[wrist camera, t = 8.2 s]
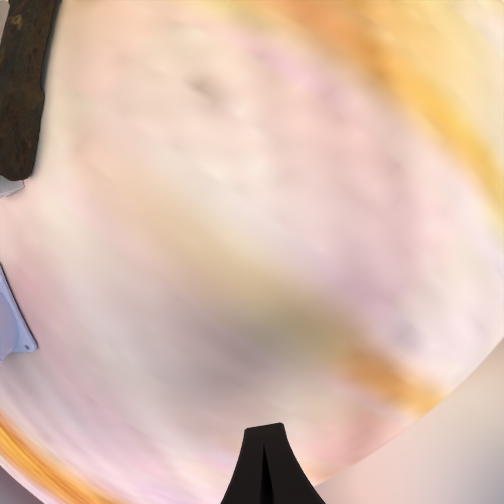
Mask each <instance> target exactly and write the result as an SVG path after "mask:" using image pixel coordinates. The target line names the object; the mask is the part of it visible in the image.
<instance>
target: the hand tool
mask: <svg viewBox="0 0 504 504" xmlns="http://www.w3.org/2000/svg"><path fill="white" fill-rule="evenodd" d="M55 2H56V0H8V3H9V5H10V7H9V10H8V15H7V18H6V22H5V26H4V30H3V34H2V38H1V43H0V175H1V176H3V177H4V178H6V179H8V180H9V181H20V180H24V179H27V178H28V177H29V176H30V173H31V170H32V168H33V163H34V158H35V152H36V146H37V142H38V133H39V125H40V118H41V113H42V108H43V103H44V98H45V94H44V91H43V90H42V89H41V88H40V74H41V65H42V59H43V56H44V51H45V46H46V41H47V38H48V34H49V32H50V25H51V17H52V13H53V9H54V5H55Z"/></svg>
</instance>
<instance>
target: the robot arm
mask: <svg viewBox="0 0 504 504" xmlns="http://www.w3.org/2000/svg"><path fill="white" fill-rule="evenodd" d="M36 350H37V345H36V343H35V341H34V339H33V337H32V336H31V334H30V332H29V330H28V328H27V326H26V324H25V322H24V320H23V318H22V316H21V314H20V311H19V309H18V307H17V305H16V303H15V301H14V298H13V296H12V294H11V291H10V289H9V287H8V284H7V282H6V279H5V277H4V274H3V271H2V269H1V266H0V363H1V362H2V361H3V360H4V359H5V358H6V357H7V355H8V354H9V353H24V352H35V351H36ZM221 504H325V502H324V501H323V500H322V498H321V497H320V496H319V494H318V493H317V492H316V490H315V489H314V487H313V486H312V484H311V483H310V481H309V480H308V478H307V477H306V475H305V474H304V472H303V470H302V468H301V467H300V465H299V463H298V461H297V459H296V458H295V456H294V454H293V451H292V449H291V447H290V445H289V442H288V439H287V436H286V432H285V428H284V424H283V423H275V424H269V425H263V426H257V427H251V428H247V429H245V431H244V438H243V442H242V447H241V451H240V454H239V458H238V461H237V464H236V467H235V470H234V473H233V476H232V479H231V481H230V484H229V486H228V488H227V491H226V493H225V495H224V498H223V500H222V502H221Z"/></svg>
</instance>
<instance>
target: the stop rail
mask: <svg viewBox="0 0 504 504" xmlns="http://www.w3.org/2000/svg"><path fill="white" fill-rule="evenodd" d="M9 7H10V5H9V3H8V1H6V0H0V43H1V38H2V34H3V30H4V26H5V22H6V18H7V15H8V10H9ZM23 187H24V184H23V180H20V181H9V180H8V179H6V178H4V177H3V176H1V175H0V198H3V197H6V196H8V195H10V194H12V193H14V192H16V191H18V190H19V189H21V188H23Z"/></svg>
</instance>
